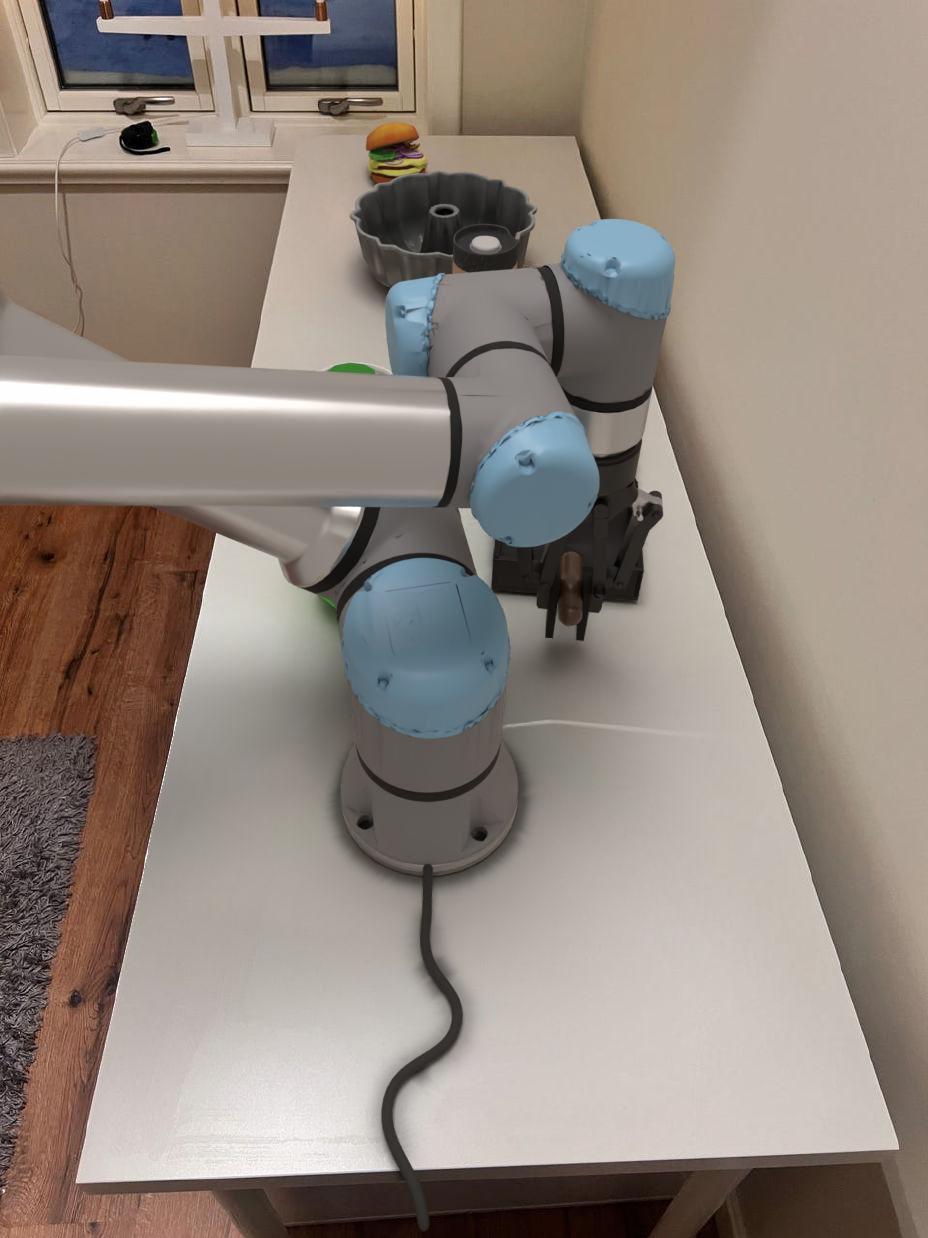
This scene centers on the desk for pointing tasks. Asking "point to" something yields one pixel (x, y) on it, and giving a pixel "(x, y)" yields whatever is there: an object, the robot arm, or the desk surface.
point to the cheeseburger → (394, 152)
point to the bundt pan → (433, 221)
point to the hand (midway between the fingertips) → (564, 628)
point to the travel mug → (484, 249)
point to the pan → (570, 568)
